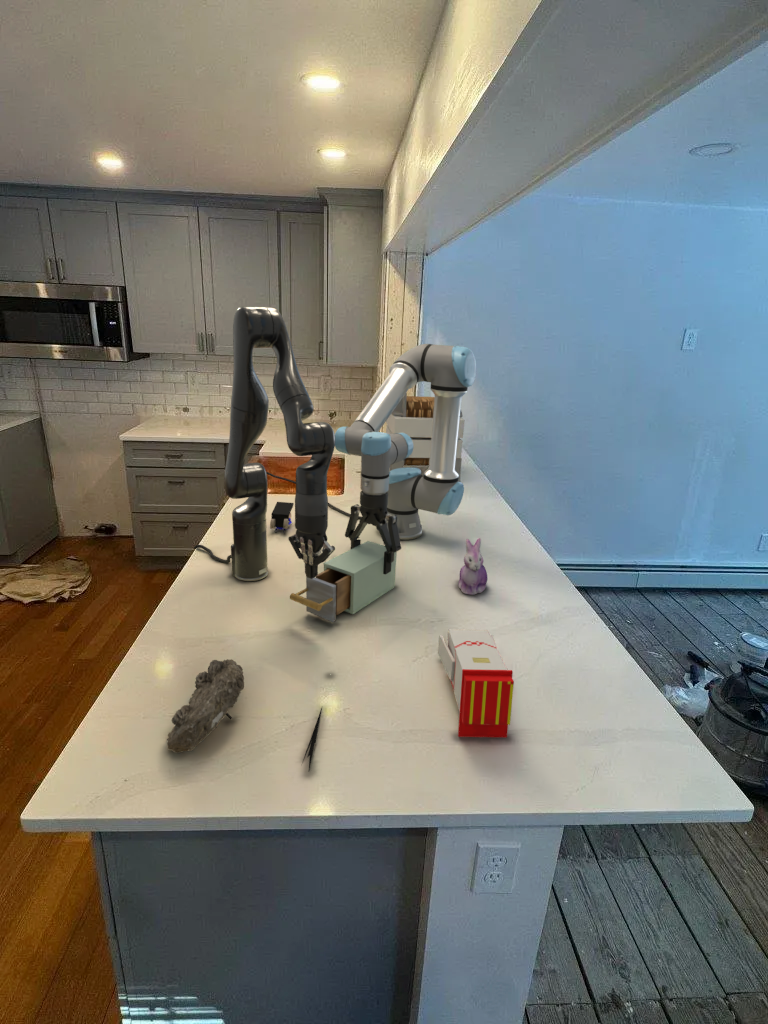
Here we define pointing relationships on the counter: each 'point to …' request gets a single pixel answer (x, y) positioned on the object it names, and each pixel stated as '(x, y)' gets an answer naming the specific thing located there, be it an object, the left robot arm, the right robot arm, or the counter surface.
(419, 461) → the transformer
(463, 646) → the toy
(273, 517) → the figurine character
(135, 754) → the counter surface
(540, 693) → the counter surface
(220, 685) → the fossil
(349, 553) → the cabinet
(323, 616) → the drawer
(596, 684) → the counter surface
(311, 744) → the feather
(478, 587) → the figurine
